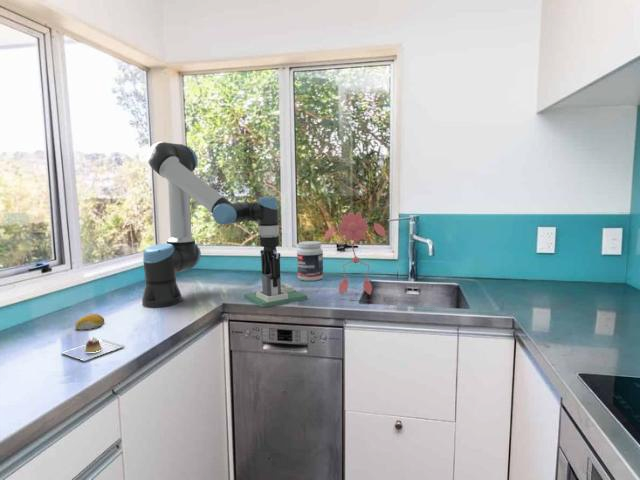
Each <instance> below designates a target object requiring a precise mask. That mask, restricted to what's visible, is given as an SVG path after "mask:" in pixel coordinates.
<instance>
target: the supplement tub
mask: <svg viewBox="0 0 640 480" xmlns="http://www.w3.org/2000/svg"><path fill="white" fill-rule="evenodd" d="M298 247H299V248H298V249H297V251H296V256H297V257H296V258H297V260H296V261H297V264H296V265H297V278H298V280H301V281H305V282H315V281H320V280H322V279H323V277H324V258H323V257H324V256H323V254H324V251H323V249H322V242H321V241H319V240H318V241H316V240H315V241H312V240H311V241H309V240H307V241H306V240H305V241H300V242H298Z"/></svg>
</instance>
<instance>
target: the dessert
mask: <svg viewBox="0 0 640 480" xmlns="http://www.w3.org/2000/svg"><path fill="white" fill-rule="evenodd" d="M99 341H103V342H106V343H109V344H112V345H116V346H118V347H120V348H121V349H122V348H124V347H126V346H125V345H123V344H120V343H116V342H113V341H110V340H105V339H102V338H101V339H97V338H96V337H94V336H93V337H92V339H88V340H87V342H86V344H83V345H80V346H77V347H73V348H71V349H68V350H65V351H62V352H60V354H63V355H64V356H65V355H66V356H68V357H71V358H74V359H76V360H77V359H78V360H79V359H80V357H78V356H75V355H73V354H70V353H68V354H66V353H65V352H68V351H71V350H74V349H77V348H80V347H84V346H86V348H84V353H85V352H96V351H99V350H101V349H102V350H103V347H102V345H101V343H99ZM120 348H115V349H112V350H109V351H106V352H103V353H101V354H98V355H96V356H93V357H90V358H87V359H84V360H83V358H81V359H80V360H79V361H82V362H87V361H86V360H88V361H90V360H89V359H91V360H93V359H95V358H94V357H96V358H98V357H97V356H99V357H101V356H100V355H102V356H104V355H106V353H107V354H109V352H110V353H112V352H111V351H113V352H114V350H115V351H117V349H118V350H121V349H120ZM69 354H70V355H69ZM103 354H104V355H103ZM74 356H75V357H74ZM77 357H78V358H77ZM92 358H93V359H92Z"/></svg>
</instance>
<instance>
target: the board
mask: <svg viewBox="0 0 640 480" xmlns="http://www.w3.org/2000/svg"><path fill="white" fill-rule="evenodd" d="M243 296H244V298H243V299H246V300H248V301H250V302H251V303H253V304H256V305H257V306H258V307H261V308H266V307H267V308H268V307H271V306H277V305H278V306H279V305H283V304H288V303H294V302H298V301H303V300H307V299H308V295H307V294H304V293H302V292H301V291H297V290H294V286H292V285H289V284H286V283H281V294H279V295H273V296H267V295H265V294H263V290H258V291H255V292H249V293H244V295H243Z"/></svg>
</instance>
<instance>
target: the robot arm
mask: <svg viewBox="0 0 640 480" xmlns="http://www.w3.org/2000/svg"><path fill="white" fill-rule="evenodd" d="M147 151H148V152H147V155H146V156H147V158H146V159H147V162H148V164H149V166H150V168H151V169H152V170H153V171H155V173H157V174H158V175H159V176H160V177H162V178H164V179H166V180H167V188H168V207H169V208H168V210H169V211H168V213H169V231H170V232H169V238H168V239H167V240H166V243H159V244H153V245H150V246H148V247H146V248H145V249H144V250H143V257H142V261H143V269H144V280H145V287H144V291H143V294H142V295H143V296H142V297H141V298H142V299H141V301H142V303H141V305H142V306H143V307H146V308H162V307H168V306H174V305H176V304H177V305H178V304H179V303H181V302H182V301H183V300H182V299H183V298H182V293H181V290H180V287H179V286H178V283H177V277H176V276H177V275H176V274H177V273H181V272H184V271H189V270H191V269H193V268H195V267H196V266H197V265H198V264H199V263H200V261H201V257H202V254H201V253H202V251H201V249H200V247H198V246H199V245H198V244H196V239H195V238H194V237H193V236H192V221H191V219H192V218H191V198H192V199H194V200H195V201H196V202H198V203H199V204H200V205H201V206H203V207H204V208H205V209H206V210H208V211H209V212H210V213H211V214H212V217H213V219H214V221H215V222H216V223H217V224H219V225H230V224H235V223H243V222H258V225H259V236H260V237H259V245H260V246H261V247H262V248H263V249H262V250H260V251H259V252H260V256H261V257H260V260H261V261H260V262H261V275H264V274H271V278H270V280H271V295H278V280H277V279H278V278H280V275H281V253H279V252H277V247H278V246H279V245H280V237H279V234H280V232H279V230H280V227H279V206H278V205H279V204H278V198H277V197H276V196H262V197H261V196H260V197H259V198H258V200H257V202H256V201H255V202H254V201H253V202H251V201H249V202H247V201H246V202H243V201H239V202H231V201H230V200H228V199H227V198H226V197H224V196H223V195H222V194H221V193H219V192H218V191H217V190H216V189H214V188H213V187H212V186H211V185H209V184H208V183H206V182H205V181H204V180H203V179H202V178H201V177H199V176H198V175H196V174H195V173H194V171H195V170H196V168H197V167H198V162H199V160H198V156H197V153H196V152H195V150H193V148H191V147H190V146H188V145H185V144H180V143H172V142H171V143H170V142H165V141H159V142H156V143H154V144H152V145H151V146H150V148H149V149H148V150H147Z"/></svg>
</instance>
